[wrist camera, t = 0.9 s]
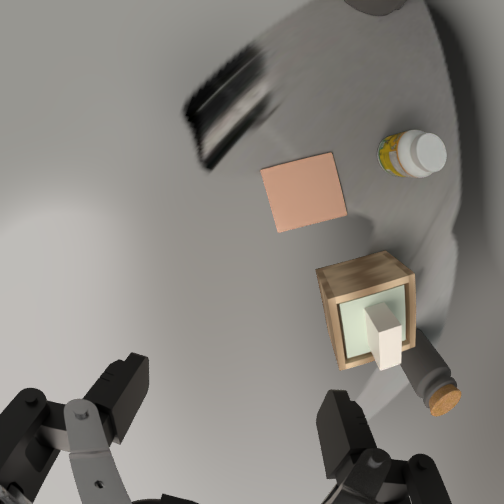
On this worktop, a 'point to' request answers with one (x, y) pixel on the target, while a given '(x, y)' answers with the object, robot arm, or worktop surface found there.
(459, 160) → the worktop surface
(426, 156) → the supplement bottle
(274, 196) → the plate
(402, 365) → the bottle
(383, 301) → the lid
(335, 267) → the crate
